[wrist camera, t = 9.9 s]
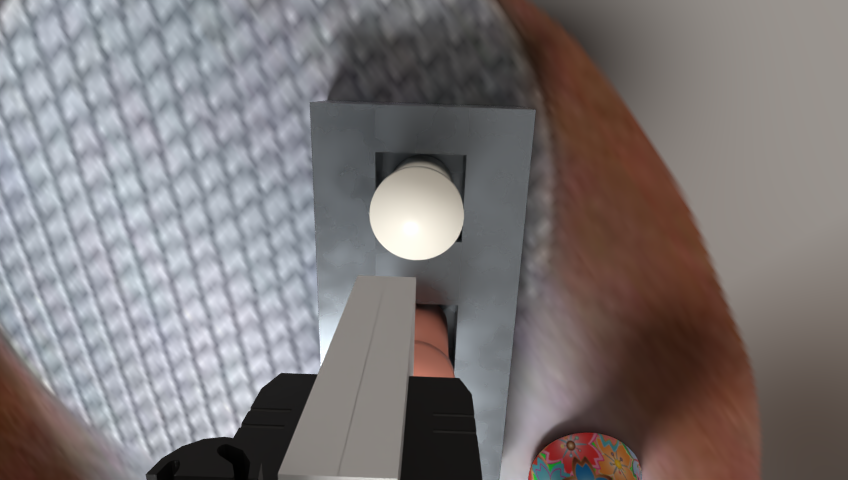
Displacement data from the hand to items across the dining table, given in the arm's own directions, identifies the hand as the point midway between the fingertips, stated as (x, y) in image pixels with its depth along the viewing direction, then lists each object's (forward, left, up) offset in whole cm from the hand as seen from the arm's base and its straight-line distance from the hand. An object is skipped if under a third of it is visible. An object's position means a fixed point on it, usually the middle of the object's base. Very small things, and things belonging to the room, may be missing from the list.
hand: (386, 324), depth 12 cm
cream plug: (0, 0, -18) cm, 18 cm away
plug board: (0, -9, -19) cm, 21 cm away
